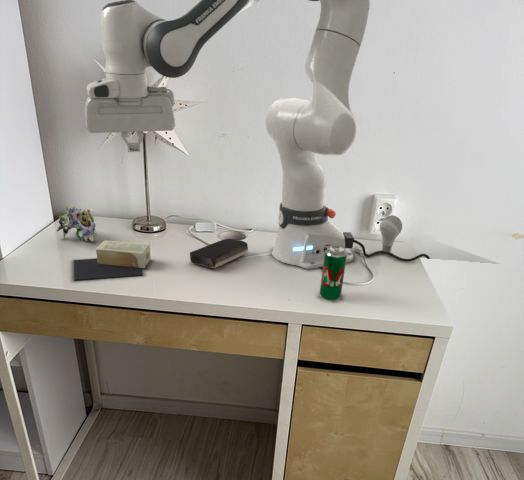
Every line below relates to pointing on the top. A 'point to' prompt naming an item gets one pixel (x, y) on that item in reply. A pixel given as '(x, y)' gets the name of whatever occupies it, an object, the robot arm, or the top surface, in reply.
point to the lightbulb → (390, 231)
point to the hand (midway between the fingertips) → (133, 151)
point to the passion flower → (78, 223)
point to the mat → (101, 270)
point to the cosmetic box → (123, 254)
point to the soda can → (333, 272)
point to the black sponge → (219, 253)
